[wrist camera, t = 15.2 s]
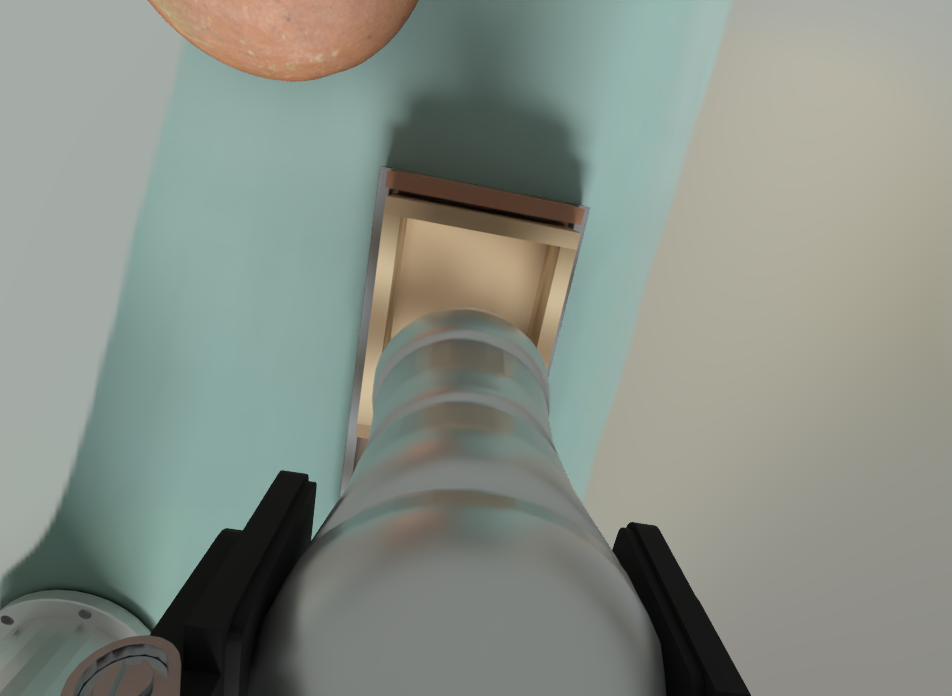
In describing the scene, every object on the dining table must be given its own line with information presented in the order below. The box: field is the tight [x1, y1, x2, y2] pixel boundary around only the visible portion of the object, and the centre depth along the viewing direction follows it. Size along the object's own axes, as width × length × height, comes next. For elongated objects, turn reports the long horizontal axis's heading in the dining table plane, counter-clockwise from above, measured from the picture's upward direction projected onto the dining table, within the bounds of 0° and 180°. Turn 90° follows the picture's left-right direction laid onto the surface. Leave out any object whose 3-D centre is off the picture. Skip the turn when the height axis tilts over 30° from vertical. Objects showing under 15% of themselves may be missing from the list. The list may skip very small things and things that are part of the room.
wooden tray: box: [340, 167, 590, 497], centre depth 31 cm, size 24×11×4 cm, turn 169°
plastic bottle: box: [248, 306, 667, 696], centre depth 13 cm, size 6×7×20 cm
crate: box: [355, 193, 581, 439], centre depth 28 cm, size 13×9×4 cm
